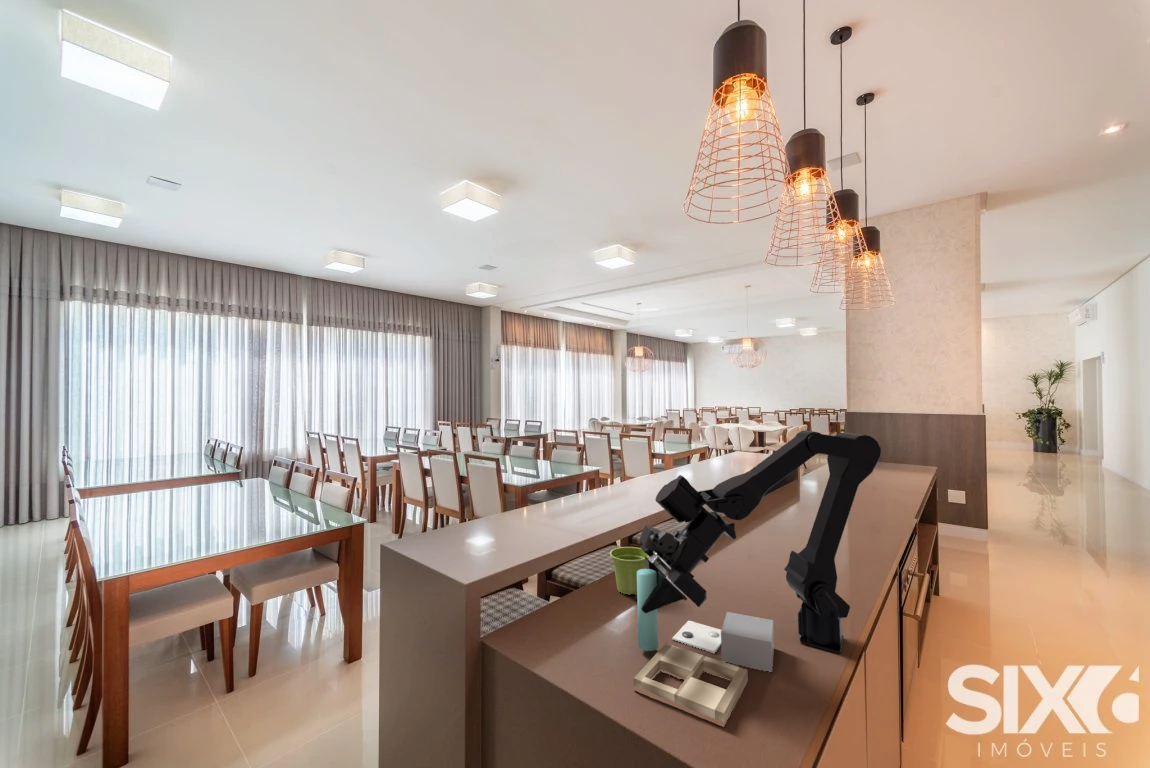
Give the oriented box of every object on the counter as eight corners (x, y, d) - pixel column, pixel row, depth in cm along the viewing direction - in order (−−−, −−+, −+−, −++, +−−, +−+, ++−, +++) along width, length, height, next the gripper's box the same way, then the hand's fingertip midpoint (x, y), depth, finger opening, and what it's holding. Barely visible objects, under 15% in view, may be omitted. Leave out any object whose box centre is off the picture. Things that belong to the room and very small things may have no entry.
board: (747, 682, 73) (747, 669, 73) (724, 728, 63) (723, 713, 63) (666, 654, 81) (665, 643, 81) (634, 691, 71) (633, 678, 71)
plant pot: (624, 578, 114) (623, 544, 115) (658, 588, 108) (657, 551, 109) (602, 591, 107) (601, 554, 107) (637, 603, 101) (636, 563, 101)
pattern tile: (728, 633, 88) (728, 630, 88) (714, 653, 81) (714, 650, 81) (688, 622, 92) (688, 619, 92) (672, 640, 86) (672, 637, 86)
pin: (661, 643, 82) (659, 571, 83) (652, 653, 80) (651, 578, 80) (643, 638, 85) (642, 567, 85) (634, 647, 82) (633, 573, 82)
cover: (773, 648, 83) (773, 620, 83) (772, 672, 75) (771, 642, 75) (727, 638, 86) (726, 611, 86) (721, 661, 79) (720, 632, 79)
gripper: (649, 498, 92) (596, 558, 90) (686, 524, 74) (622, 600, 72) (686, 535, 94) (636, 594, 91) (733, 569, 75) (671, 645, 73)
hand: (639, 606), depth 82 cm, fingers closed on pin, 3 cm apart
